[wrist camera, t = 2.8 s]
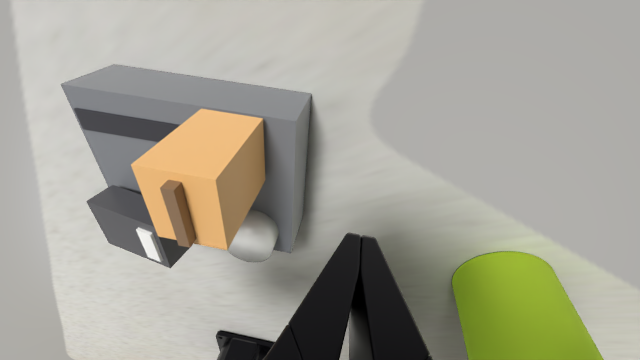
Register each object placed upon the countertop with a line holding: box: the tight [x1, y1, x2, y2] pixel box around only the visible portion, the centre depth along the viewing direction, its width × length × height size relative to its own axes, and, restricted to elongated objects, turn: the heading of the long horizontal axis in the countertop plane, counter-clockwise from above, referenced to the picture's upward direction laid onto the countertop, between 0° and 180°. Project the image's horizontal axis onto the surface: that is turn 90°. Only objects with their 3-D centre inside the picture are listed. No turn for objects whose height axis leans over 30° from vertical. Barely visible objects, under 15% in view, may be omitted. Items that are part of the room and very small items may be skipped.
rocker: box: [86, 185, 189, 268], centre depth 15 cm, size 3×4×2 cm
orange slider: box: [131, 109, 265, 250], centre depth 10 cm, size 3×2×4 cm
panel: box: [61, 65, 311, 262], centre depth 15 cm, size 8×10×4 cm
